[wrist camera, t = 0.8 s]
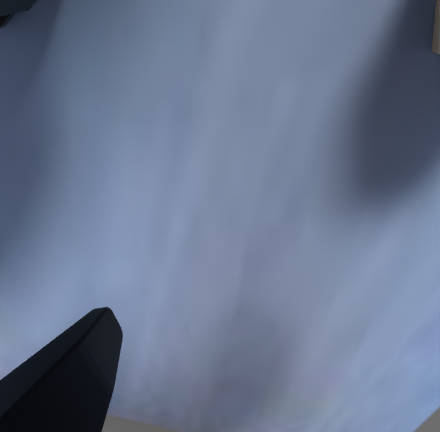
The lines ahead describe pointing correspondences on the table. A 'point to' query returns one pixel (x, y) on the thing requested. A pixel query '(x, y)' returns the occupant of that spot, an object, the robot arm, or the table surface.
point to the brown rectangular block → (436, 30)
